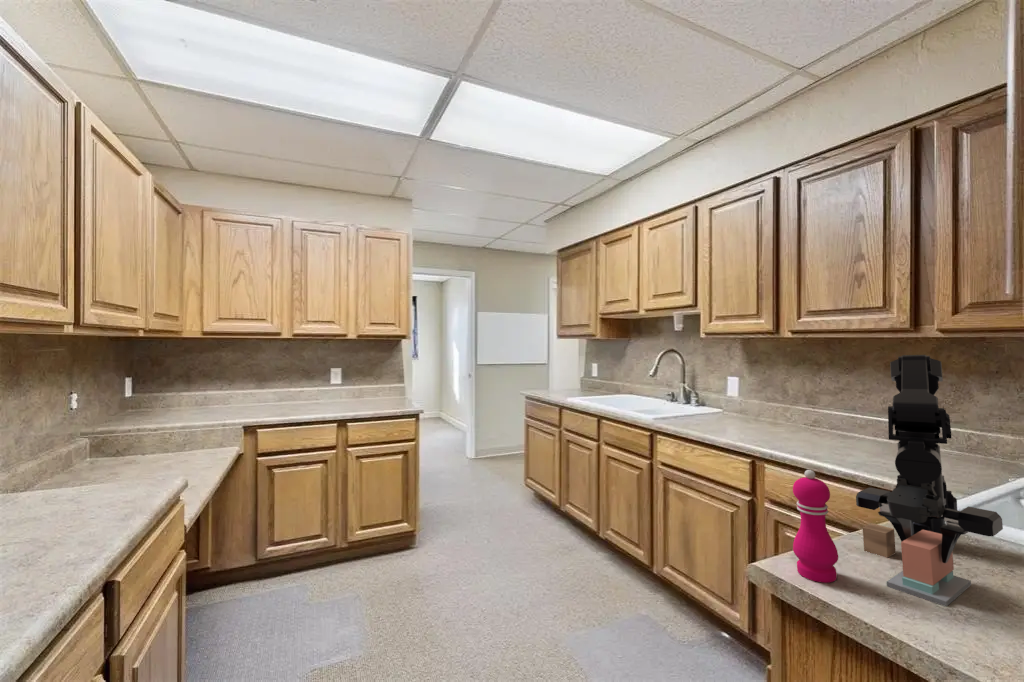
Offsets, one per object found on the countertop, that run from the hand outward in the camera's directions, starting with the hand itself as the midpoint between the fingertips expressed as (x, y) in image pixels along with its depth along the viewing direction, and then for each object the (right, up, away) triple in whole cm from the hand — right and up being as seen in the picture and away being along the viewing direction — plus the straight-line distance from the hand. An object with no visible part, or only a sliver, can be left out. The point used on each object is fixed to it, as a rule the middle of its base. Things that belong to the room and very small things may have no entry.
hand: (926, 557), depth 80 cm
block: (+3, -5, +13) cm, 15 cm away
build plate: (0, -5, 0) cm, 5 cm away
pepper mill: (-16, -6, +5) cm, 18 cm away
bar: (+1, -3, 0) cm, 3 cm away
